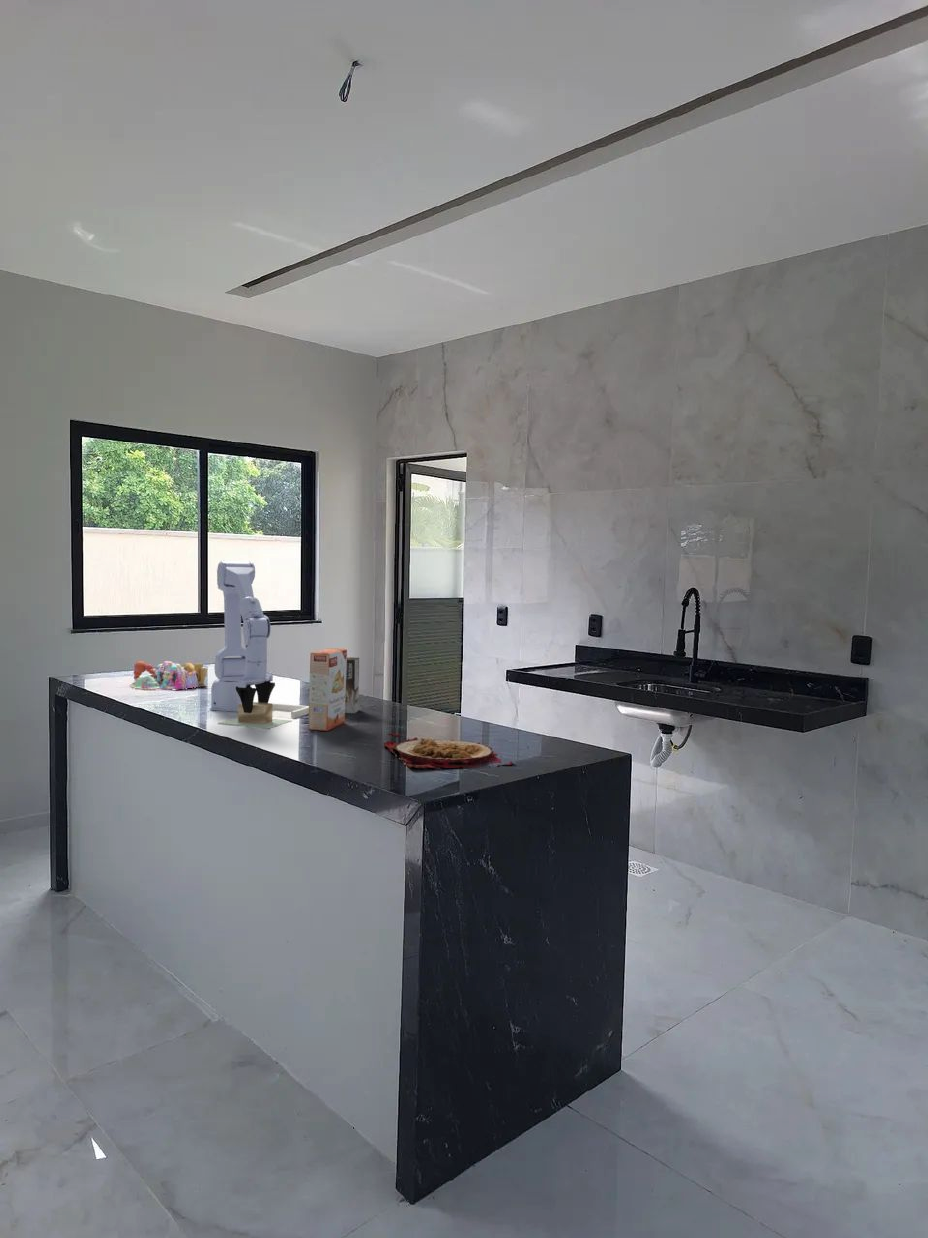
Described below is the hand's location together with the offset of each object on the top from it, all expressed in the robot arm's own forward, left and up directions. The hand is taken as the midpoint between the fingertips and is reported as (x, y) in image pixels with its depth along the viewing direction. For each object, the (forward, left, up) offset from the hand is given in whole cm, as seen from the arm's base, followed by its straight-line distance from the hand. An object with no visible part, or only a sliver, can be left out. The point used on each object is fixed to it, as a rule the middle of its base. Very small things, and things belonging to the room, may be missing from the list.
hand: (255, 710), depth 241 cm
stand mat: (0, 0, -3) cm, 3 cm away
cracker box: (+20, +4, -4) cm, 21 cm away
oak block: (0, 0, -3) cm, 3 cm away
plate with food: (+61, -15, -4) cm, 63 cm away
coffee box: (+13, +27, -4) cm, 30 cm away
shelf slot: (0, +14, -3) cm, 14 cm away
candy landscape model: (-62, +45, -4) cm, 77 cm away
